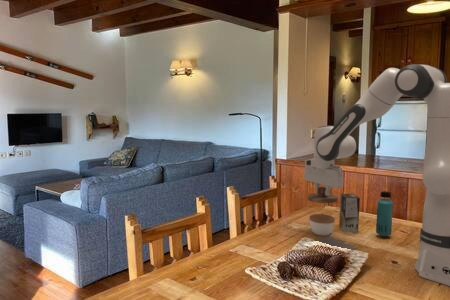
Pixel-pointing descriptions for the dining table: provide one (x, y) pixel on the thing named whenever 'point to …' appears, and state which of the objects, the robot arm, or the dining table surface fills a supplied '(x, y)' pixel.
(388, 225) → the beverage bottle
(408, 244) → the dining table surface
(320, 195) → the lid
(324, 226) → the lidded jar
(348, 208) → the coffee box
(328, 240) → the mat
